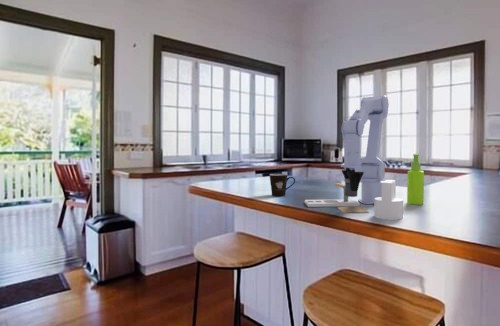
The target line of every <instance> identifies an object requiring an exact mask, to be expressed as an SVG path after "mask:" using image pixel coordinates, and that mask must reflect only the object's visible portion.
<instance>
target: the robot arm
mask: <svg viewBox="0 0 500 326" xmlns="http://www.w3.org/2000/svg"><path fill="white" fill-rule="evenodd" d="M388 112H389V97H388V96H387V95H385V94H384V95H378V96H367V97H366V96H363V97H362V99H360V108H359V109H355V111H354V113H352V115H351V116H350V118H349V119H348V120H345V121H343V122H342V124H341V128H340V129H341V134H342V141H344V145H343V146H344V147H343V152H344V153H343V154H344V155H343V156H344V158H343V159H344V161H343V162H344V163H343V164H341V165H340V167H341V168H343V169H341V173H342V175H343V177H344V180H345V179H349V180H350V187H351V191H357V192H358V190H359V188H360V187H361V192H360V193H361V199H357V202H360V203H362V204H363V205H369V204H370V205H372V204H374V199H375V198H377V197H382V182H384V181H385V180H384V178H385V174H386V173H385V162H384V161H383V160H381V159H380V158H379V153H380V147H381V146H380V145H381V135H382V129H383V122H384V119H386V118H388V117H387V116H388ZM368 120H369V122H370V123H369V130H368V137H367V146H366V153H365V157H363V158H362V159H361V153H362V152H361V148H362V147H361V145H362V144H361V143H362V142H361V141H362V140H361V139H362V138H361V137H362V135H363V133H364V129H365V124H366V123H367V122H368ZM360 182H361V186H360ZM359 186H360V187H359Z"/></svg>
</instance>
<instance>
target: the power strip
mask: <svg viewBox="0 0 500 326" xmlns="http://www.w3.org/2000/svg"><path fill="white" fill-rule="evenodd" d="M304 204H305V205H306V206H307V207H308V208H312V207H313V208H317V207H318V208H320V207H321V208H322V207H325V208H326V207H327V208H328V207H330V208H331V207H333V208H334V207H336V208H337V207H360V203H359V201H356V200H355V199H353V198H349V197H348V196H345V189H343V198H341V199H340V198H339V199H305V200H304Z"/></svg>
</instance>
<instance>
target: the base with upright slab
mask: <svg viewBox="0 0 500 326" xmlns="http://www.w3.org/2000/svg"><path fill="white" fill-rule="evenodd" d="M383 181H384V182H382V197H377V198H375V199H374V209H373V212H374V213H373V214H374V218H377V219H380V220H386V219H388V220H390V221H396V220H397V219H399V220H403V219H404V199H403V198H401V197H396V195H397V194H396V187H397V186H396V185H397V184H396V183H397V182H396V181H397V180H396V179H385V180H383ZM402 218H403V219H402ZM388 220H387V221H388Z"/></svg>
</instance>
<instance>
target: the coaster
mask: <svg viewBox="0 0 500 326" xmlns="http://www.w3.org/2000/svg"><path fill="white" fill-rule="evenodd" d="M336 209H338V210H339V211H340V212H341V213H342V214H362V213H363V214H366V213H368V214H369V211H368V210H366V209H365V208H364V207H362V206H336Z"/></svg>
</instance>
